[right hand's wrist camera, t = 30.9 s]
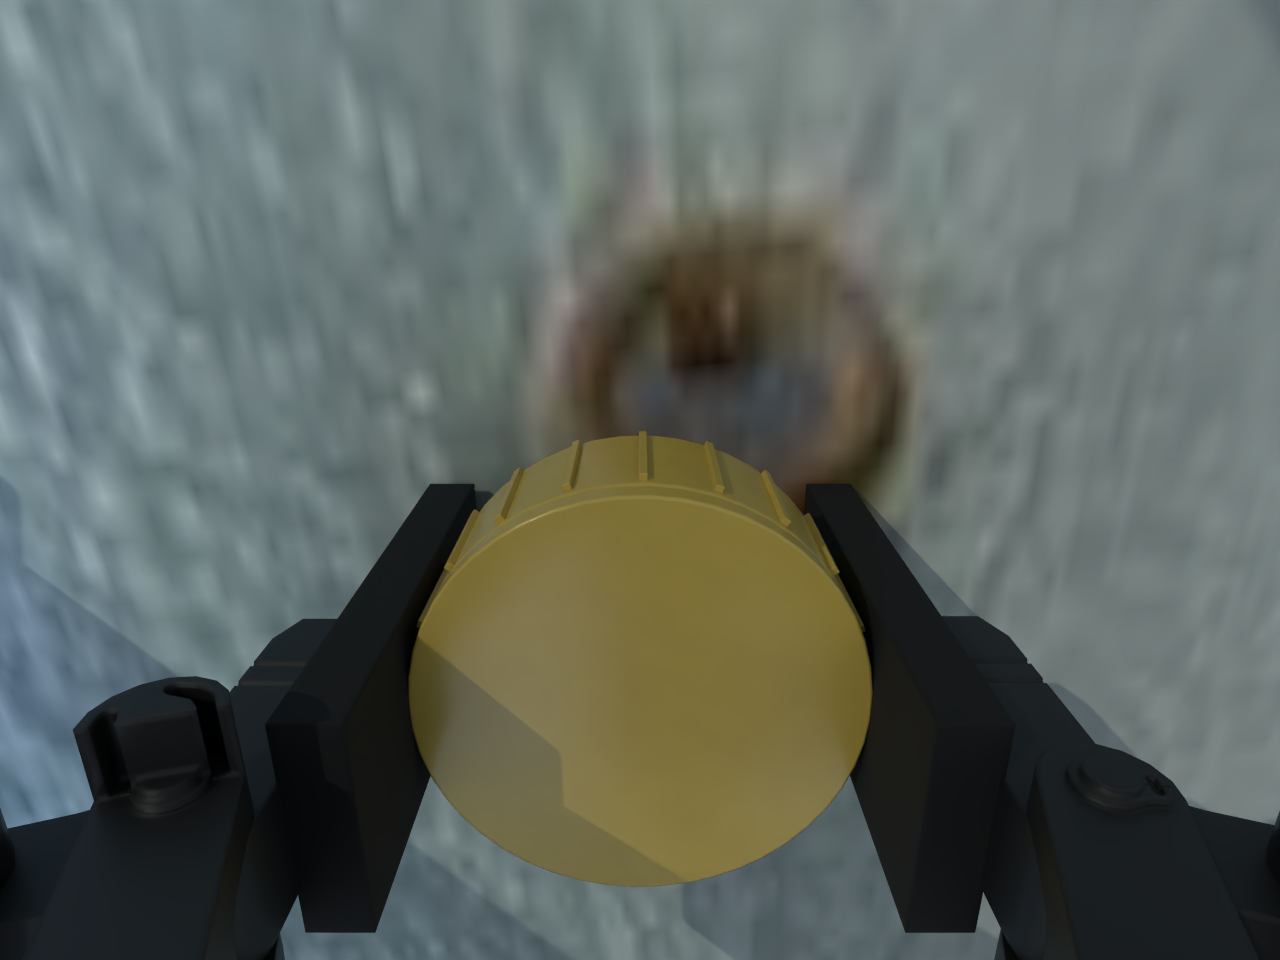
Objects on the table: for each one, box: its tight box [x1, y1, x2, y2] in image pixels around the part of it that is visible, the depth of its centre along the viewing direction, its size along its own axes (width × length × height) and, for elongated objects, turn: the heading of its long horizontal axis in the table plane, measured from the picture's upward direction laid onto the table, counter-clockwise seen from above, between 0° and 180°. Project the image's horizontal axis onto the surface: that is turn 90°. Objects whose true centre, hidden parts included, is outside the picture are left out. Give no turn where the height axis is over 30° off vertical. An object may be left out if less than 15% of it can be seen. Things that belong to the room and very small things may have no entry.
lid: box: [408, 431, 873, 887], centre depth 11 cm, size 6×6×2 cm
